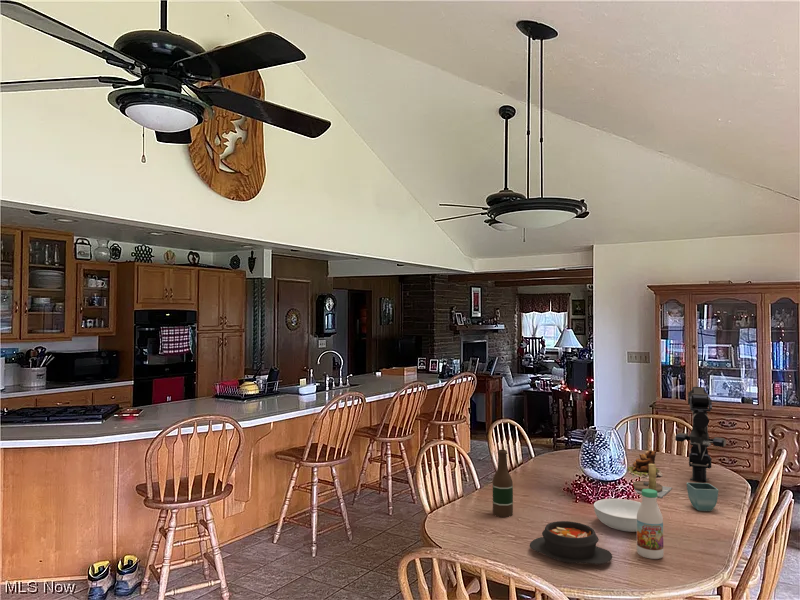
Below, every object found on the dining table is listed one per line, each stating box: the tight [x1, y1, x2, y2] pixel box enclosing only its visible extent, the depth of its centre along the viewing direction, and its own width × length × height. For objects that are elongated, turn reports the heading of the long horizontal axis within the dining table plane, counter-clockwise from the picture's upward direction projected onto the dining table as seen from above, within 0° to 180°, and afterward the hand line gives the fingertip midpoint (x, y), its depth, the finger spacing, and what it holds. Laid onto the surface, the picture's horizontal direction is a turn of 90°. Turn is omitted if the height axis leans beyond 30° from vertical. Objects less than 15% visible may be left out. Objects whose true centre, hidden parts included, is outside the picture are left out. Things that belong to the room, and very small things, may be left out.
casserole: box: [529, 520, 613, 565], centre depth 181 cm, size 25×19×8 cm
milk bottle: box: [636, 489, 664, 560], centre depth 182 cm, size 8×8×20 cm
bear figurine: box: [627, 449, 664, 479], centre depth 274 cm, size 14×15×12 cm
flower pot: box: [686, 482, 719, 512], centre depth 224 cm, size 9×9×9 cm
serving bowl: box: [593, 498, 642, 533], centre depth 205 cm, size 21×21×7 cm
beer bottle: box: [492, 449, 514, 518], centre depth 219 cm, size 8×8×24 cm
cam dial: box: [632, 463, 663, 492], centre depth 248 cm, size 12×12×11 cm
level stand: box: [635, 485, 673, 499], centre depth 248 cm, size 16×16×1 cm
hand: (700, 459), depth 248 cm, fingers closed
